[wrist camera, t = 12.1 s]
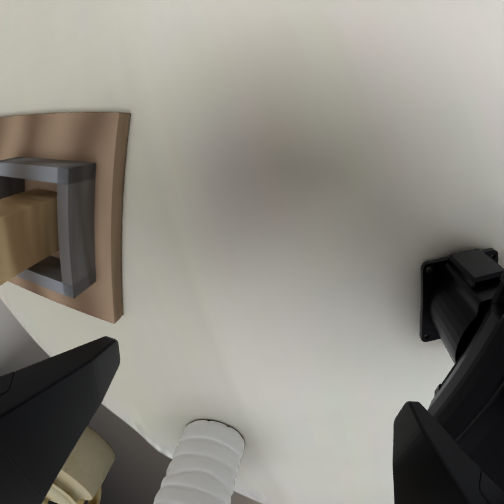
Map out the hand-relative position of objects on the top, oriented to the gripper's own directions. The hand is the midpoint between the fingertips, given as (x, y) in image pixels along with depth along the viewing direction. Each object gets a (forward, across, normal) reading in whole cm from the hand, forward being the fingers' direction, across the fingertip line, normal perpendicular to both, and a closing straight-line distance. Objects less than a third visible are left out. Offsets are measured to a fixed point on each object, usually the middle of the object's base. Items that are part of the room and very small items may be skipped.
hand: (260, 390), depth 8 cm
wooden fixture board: (+13, +21, +1) cm, 25 cm away
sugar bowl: (+13, +21, +37) cm, 44 cm away
